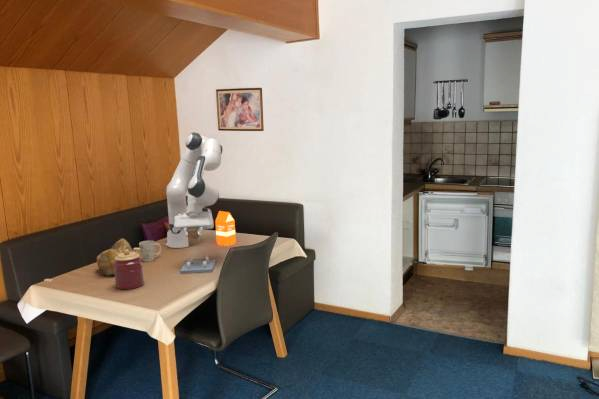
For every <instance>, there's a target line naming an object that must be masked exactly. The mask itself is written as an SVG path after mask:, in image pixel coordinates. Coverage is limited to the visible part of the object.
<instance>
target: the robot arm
mask: <svg viewBox="0 0 599 399" xmlns="http://www.w3.org/2000/svg"><path fill="white" fill-rule="evenodd" d="M185 147H186V150H185V151H184V153H183V154H182V157H181V159H180V160H179V163H178V165H177V166H176V169H175V171H174V173H173V175H172V178H171V180H170V181H169V183H168V184H167V185H166V190H165V191H166V192H165V193H166V198H167V200H166V202H167V214H168V231H167V233H166V234H167V235H166V237H167V238H166V240H167V242H166V243H165V244H164V245H165V246H167V247H169V248H172V249H182V248H187V247H190V246H189V244H188V233H187V230H188V229H190V228H198V232H197V235H198V237H201V235H202V233H203V231H204V230H209V229H210V230H212V229H213V228H214V226H215V225H214V224H215V222H214V218H213V214H212V210H211V209H210V208H208V207H211V206H213V205H215V204H217V202H218V201H219V198H220V193H219V190H217V189H216V188H215V187H214V186H212V185H211V184H209V183H208V182H206V181H205V179H204V172H205V171H206V172H209V171H210V172H211V171H216V170H217V169H218V168H219V167H220V165H221V162H222V153H223V146H222V145H221V144H220V141H218V140H217V139H216V138H210V137H207V136H206V135H202V134H200V133H197V132H190V134H188V136H187V137H186V140H185ZM187 193H188V194H187ZM186 194H187V196H186Z"/></svg>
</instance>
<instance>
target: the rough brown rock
mask: <svg viewBox="0 0 599 399" xmlns="http://www.w3.org/2000/svg"><path fill="white" fill-rule="evenodd" d="M126 249H128V250H129V251H130V252H134V251H133V249H132V247H131V245H130V243H129V241H127V240H126V239H125V238H123V237H122V238H120V239H119V240H118V241H115V242H114V244H113V245H112V246H111V247H110V248H109V249H106V250H104V251H102V252H101V253H99V254H98V255H97V256H96V264H97V267H98V270H99V271H100V273H101V274H102V275H103V276H115V272H114V269H115V265H114V264H113V262H114V261H116V260H115V257H116V256H117V255H118V254H120V253H124V250H126Z"/></svg>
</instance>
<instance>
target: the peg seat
mask: <svg viewBox="0 0 599 399" xmlns="http://www.w3.org/2000/svg"><path fill="white" fill-rule="evenodd" d="M216 263H217V261H216V259H210V258H209V256H208V255H207V256H205V260H204V259H203V260H194V258H193V257H191V256H190V257H189V260H186V261H184V263H183V265H182V266H181V268H180V270H179V274H181V275H183V274H185V275H186V274H200V273H201V274H202V273H203V272H205V273H213V271H214V268H215V265H216ZM203 274H204V273H203Z"/></svg>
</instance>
